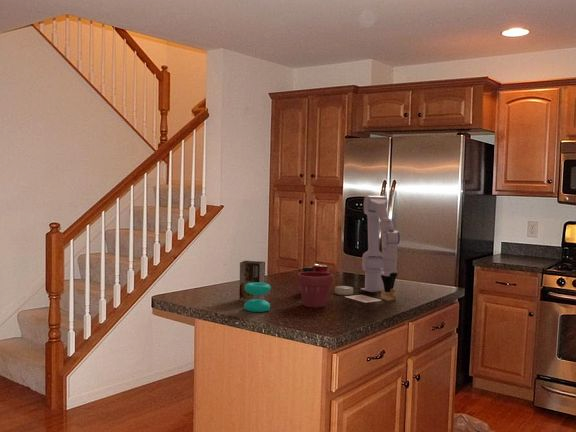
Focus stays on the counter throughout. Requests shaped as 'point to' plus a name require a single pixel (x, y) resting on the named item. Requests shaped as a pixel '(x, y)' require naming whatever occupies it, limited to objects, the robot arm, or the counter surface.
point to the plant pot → (314, 288)
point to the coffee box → (251, 278)
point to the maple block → (388, 295)
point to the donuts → (257, 304)
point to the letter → (363, 298)
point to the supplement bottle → (307, 269)
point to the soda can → (320, 268)
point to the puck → (343, 290)
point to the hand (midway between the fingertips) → (388, 290)
